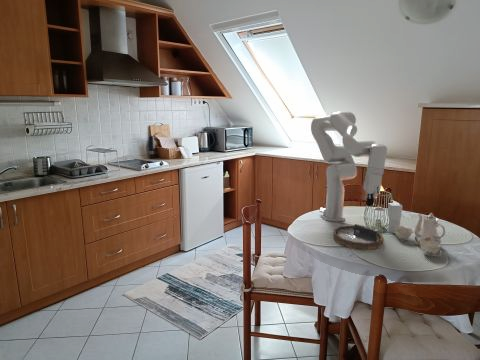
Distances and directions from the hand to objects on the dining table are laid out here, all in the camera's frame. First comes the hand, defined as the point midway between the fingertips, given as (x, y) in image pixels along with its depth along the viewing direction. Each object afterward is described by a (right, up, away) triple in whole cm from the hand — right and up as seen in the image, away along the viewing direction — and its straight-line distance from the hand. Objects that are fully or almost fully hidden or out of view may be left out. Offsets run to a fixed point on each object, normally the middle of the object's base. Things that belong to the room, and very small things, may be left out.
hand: (369, 205), depth 177 cm
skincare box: (+14, -14, +10) cm, 22 cm away
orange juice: (+15, -8, +32) cm, 36 cm away
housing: (-7, -16, -4) cm, 18 cm away
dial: (-7, -15, -4) cm, 17 cm away
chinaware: (+21, -19, -10) cm, 29 cm away
